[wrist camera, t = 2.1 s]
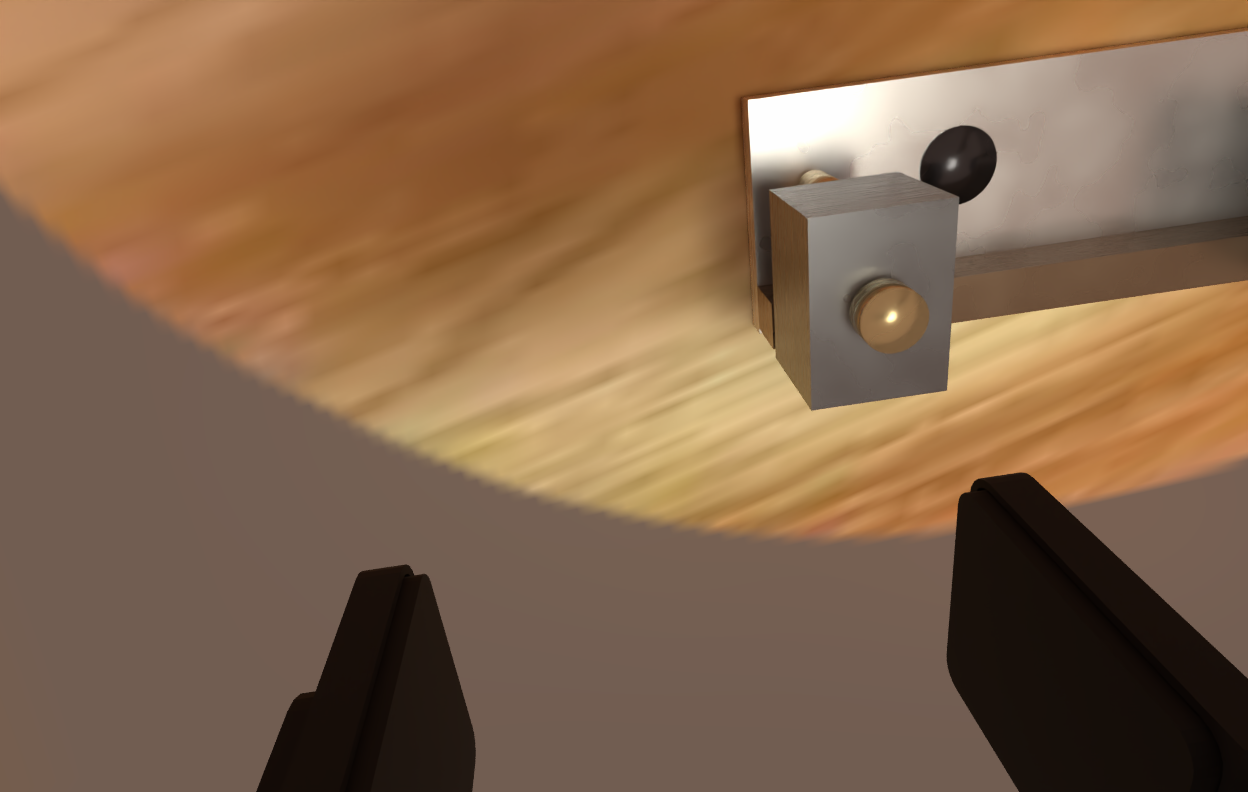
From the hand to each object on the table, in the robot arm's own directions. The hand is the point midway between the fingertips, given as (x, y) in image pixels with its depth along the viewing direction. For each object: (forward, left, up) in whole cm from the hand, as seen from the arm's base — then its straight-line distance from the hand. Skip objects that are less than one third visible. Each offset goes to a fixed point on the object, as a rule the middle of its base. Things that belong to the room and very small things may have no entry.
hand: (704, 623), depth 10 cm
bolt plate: (-17, 0, -20) cm, 26 cm away
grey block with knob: (-7, +1, -18) cm, 20 cm away
